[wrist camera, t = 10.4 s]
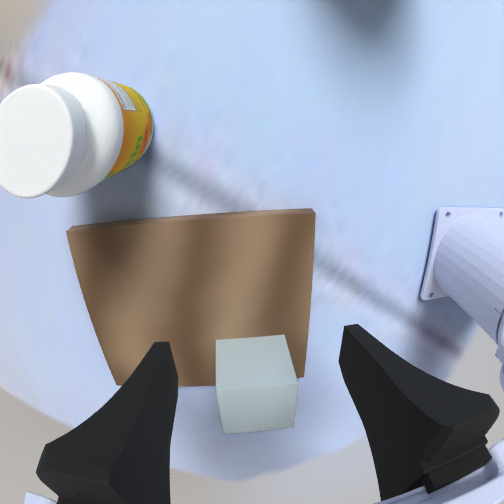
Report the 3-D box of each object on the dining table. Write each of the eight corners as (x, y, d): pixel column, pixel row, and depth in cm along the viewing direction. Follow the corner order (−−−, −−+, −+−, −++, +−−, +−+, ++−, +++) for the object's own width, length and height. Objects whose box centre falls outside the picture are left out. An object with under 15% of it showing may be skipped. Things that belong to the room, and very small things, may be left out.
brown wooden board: (311, 208, 20) (315, 212, 19) (301, 369, 26) (303, 377, 25) (72, 226, 19) (66, 231, 18) (119, 377, 24) (116, 385, 24)
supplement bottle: (113, 188, 18) (34, 248, 9) (61, 132, 16) (-42, 155, 7) (173, 126, 17) (125, 133, 8) (117, 68, 15) (32, 35, 6)
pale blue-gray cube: (284, 334, 23) (298, 383, 18) (282, 380, 25) (293, 427, 20) (215, 339, 22) (216, 390, 18) (221, 385, 24) (223, 433, 20)
